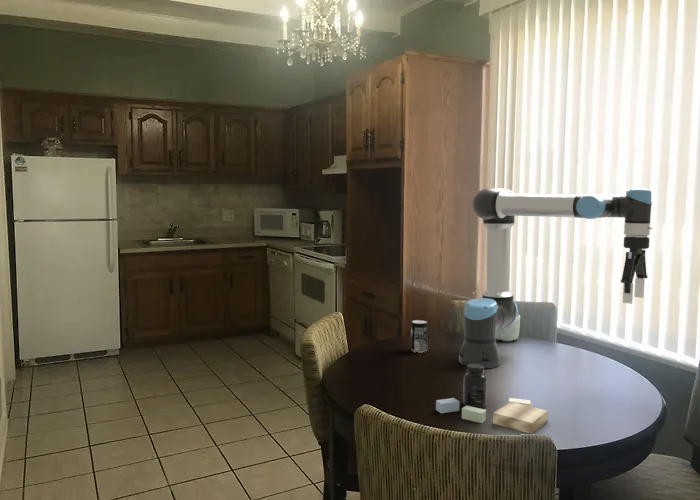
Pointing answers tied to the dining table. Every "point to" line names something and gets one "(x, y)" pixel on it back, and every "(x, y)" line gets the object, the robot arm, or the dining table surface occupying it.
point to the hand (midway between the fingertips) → (633, 300)
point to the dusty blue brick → (447, 405)
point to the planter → (509, 331)
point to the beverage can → (419, 336)
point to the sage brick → (474, 414)
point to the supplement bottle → (475, 386)
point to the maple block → (520, 417)
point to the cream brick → (520, 401)
